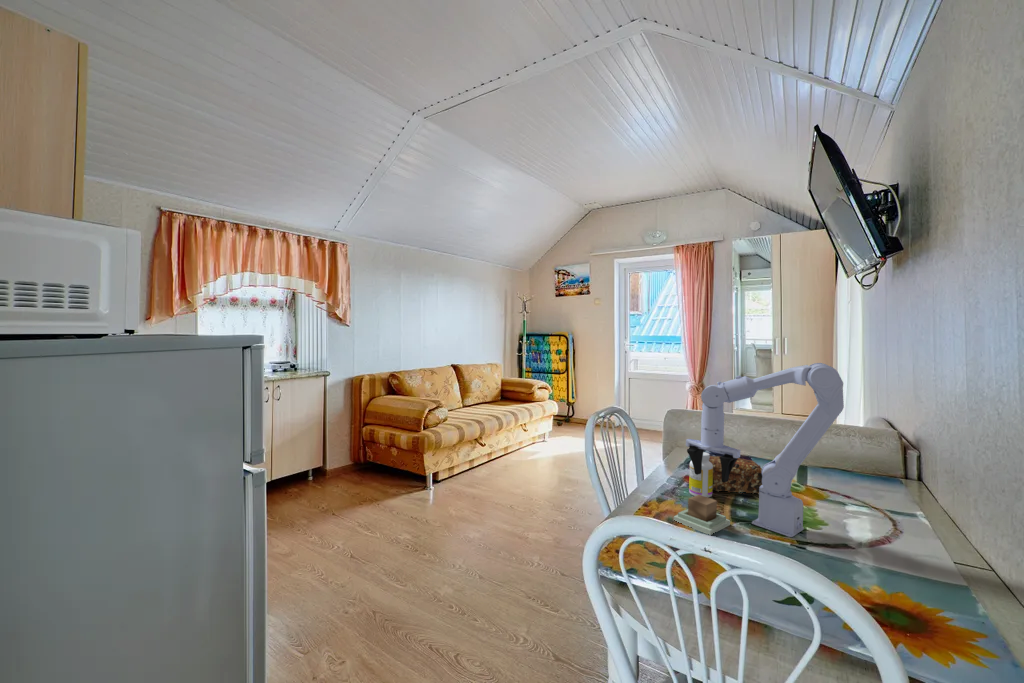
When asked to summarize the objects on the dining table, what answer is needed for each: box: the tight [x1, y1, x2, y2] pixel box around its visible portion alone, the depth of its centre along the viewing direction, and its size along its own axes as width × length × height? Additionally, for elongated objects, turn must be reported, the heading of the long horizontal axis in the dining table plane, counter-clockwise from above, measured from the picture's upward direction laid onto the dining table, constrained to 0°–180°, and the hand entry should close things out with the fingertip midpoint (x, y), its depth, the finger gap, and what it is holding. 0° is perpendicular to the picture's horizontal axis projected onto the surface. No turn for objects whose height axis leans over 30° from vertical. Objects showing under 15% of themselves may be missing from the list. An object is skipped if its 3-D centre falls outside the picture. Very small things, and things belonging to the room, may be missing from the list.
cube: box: [687, 495, 718, 522], centre depth 114 cm, size 5×5×5 cm
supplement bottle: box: [688, 451, 714, 498], centre depth 134 cm, size 7×7×13 cm
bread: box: [709, 455, 763, 494], centre depth 141 cm, size 19×11×10 cm, turn 80°
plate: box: [673, 508, 731, 536], centre depth 114 cm, size 10×10×2 cm
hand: (711, 477), depth 120 cm, fingers open, 7 cm apart
